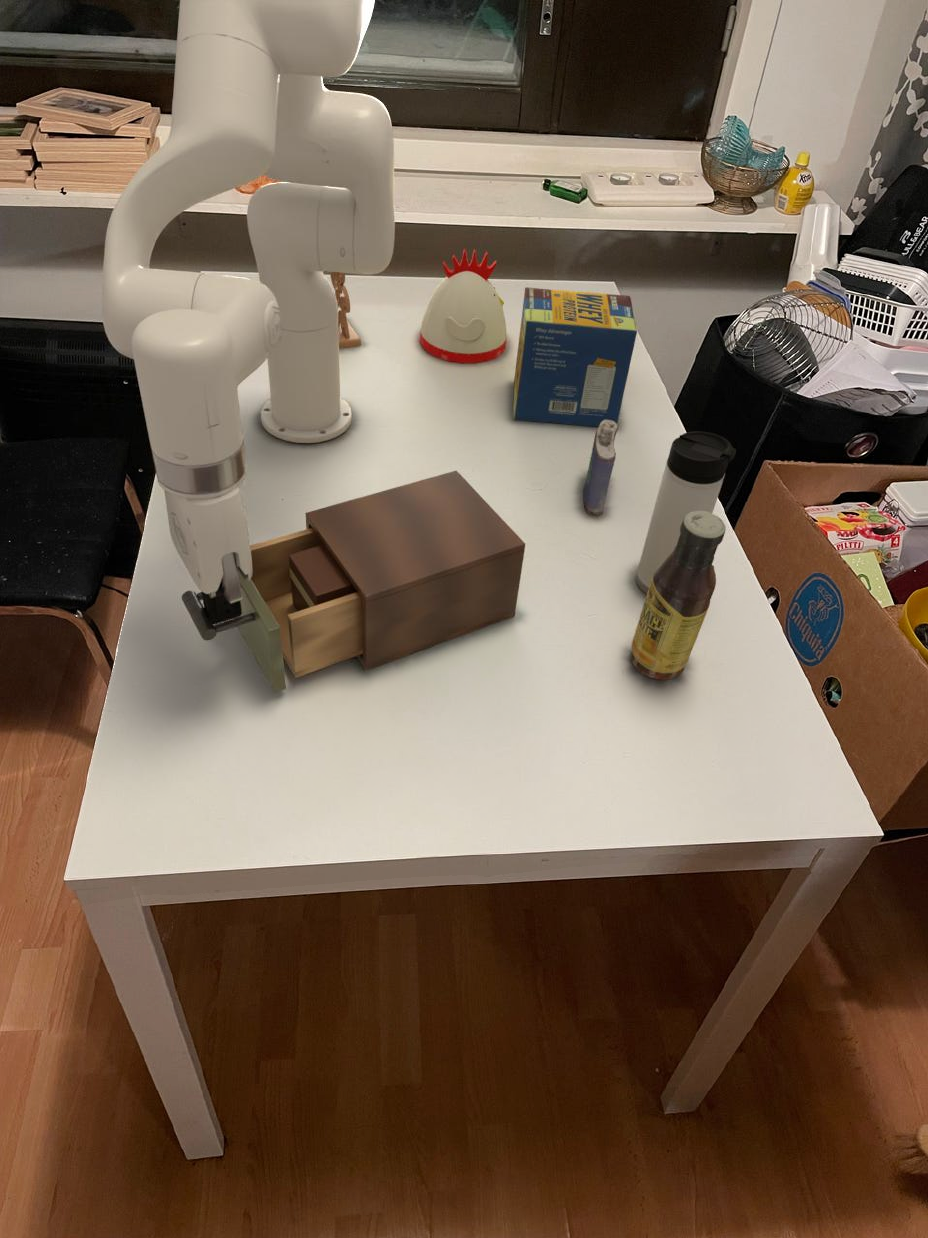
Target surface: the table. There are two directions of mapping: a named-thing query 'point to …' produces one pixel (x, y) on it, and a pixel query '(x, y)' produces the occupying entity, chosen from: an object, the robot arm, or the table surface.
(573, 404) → the protein box
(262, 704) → the table surface
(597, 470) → the flask
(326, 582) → the snack box
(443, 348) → the kitchen timer
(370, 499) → the cabinet
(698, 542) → the sauce bottle
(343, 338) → the wooden sculpture
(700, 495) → the travel mug
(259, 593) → the drawer
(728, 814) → the table surface
